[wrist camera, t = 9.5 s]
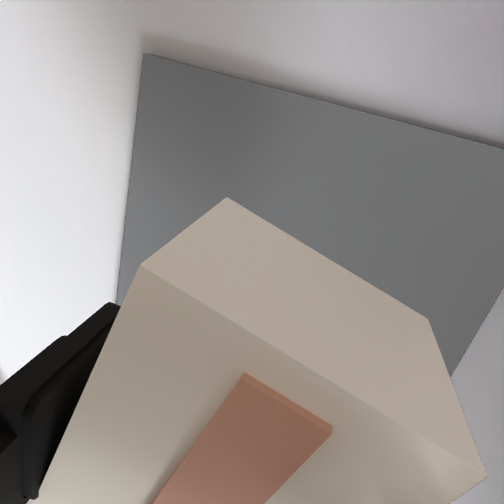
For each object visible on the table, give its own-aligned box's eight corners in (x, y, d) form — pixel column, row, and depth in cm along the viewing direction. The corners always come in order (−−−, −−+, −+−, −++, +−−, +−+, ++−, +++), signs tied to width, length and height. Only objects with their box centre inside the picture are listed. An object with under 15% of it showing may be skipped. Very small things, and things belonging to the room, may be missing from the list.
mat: (567, 166, 16) (574, 168, 16) (416, 424, 23) (417, 431, 22) (149, 54, 19) (143, 53, 18) (119, 315, 25) (114, 319, 25)
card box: (259, 496, 13) (220, 676, 9) (116, 408, 13) (11, 546, 9) (427, 318, 10) (491, 485, 5) (226, 196, 10) (134, 268, 5)
